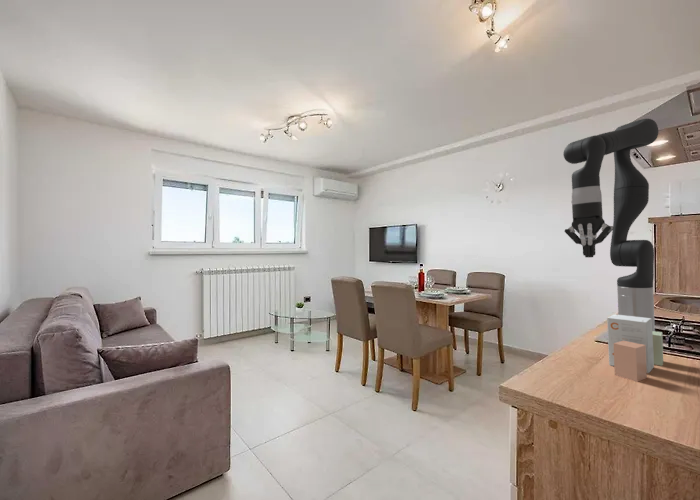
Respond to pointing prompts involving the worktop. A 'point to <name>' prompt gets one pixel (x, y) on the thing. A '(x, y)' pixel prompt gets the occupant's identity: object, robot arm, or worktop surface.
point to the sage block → (658, 348)
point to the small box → (631, 335)
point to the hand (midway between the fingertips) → (589, 257)
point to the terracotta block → (630, 360)
